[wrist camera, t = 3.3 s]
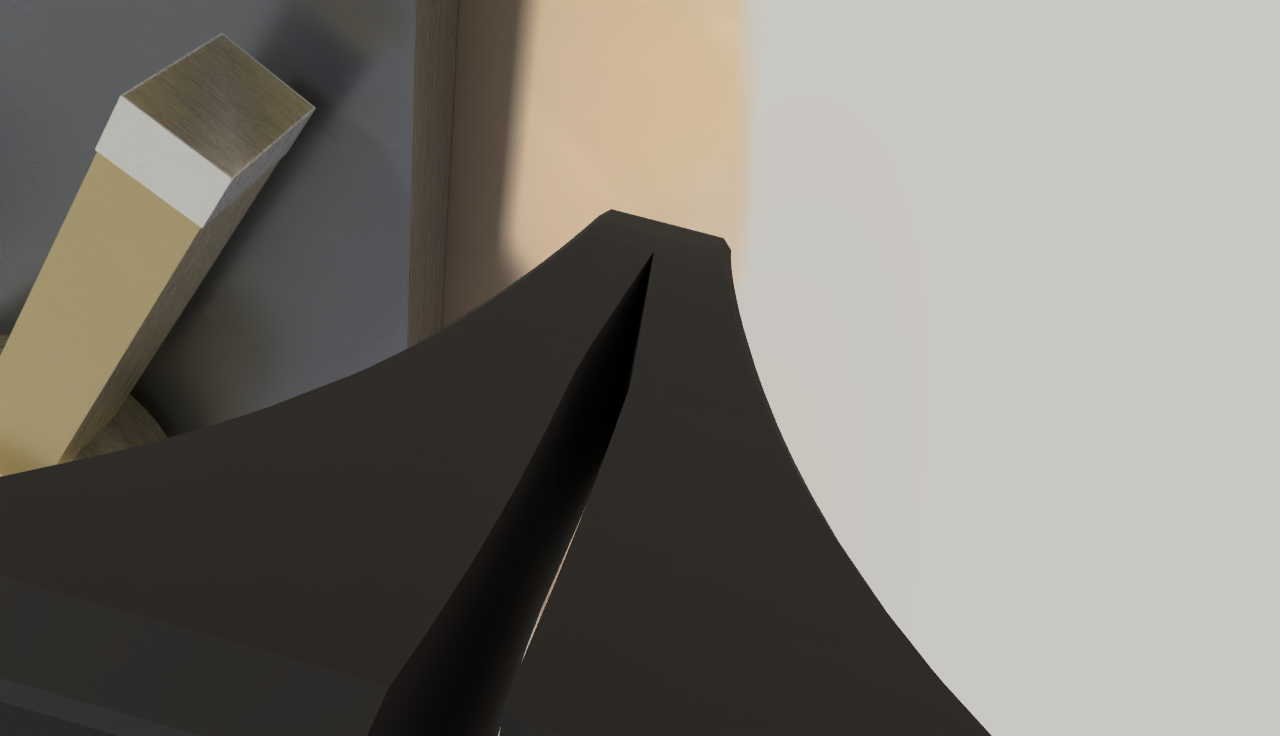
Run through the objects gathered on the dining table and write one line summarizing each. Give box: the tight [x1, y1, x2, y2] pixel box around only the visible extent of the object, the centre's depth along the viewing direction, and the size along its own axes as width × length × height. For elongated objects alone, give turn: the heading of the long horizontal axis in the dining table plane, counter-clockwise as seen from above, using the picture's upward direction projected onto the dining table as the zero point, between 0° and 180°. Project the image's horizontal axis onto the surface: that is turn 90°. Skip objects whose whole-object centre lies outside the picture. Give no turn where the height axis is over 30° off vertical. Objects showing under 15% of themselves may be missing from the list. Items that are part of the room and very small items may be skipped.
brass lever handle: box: [0, 33, 316, 477], centre depth 13 cm, size 11×4×3 cm, turn 140°
